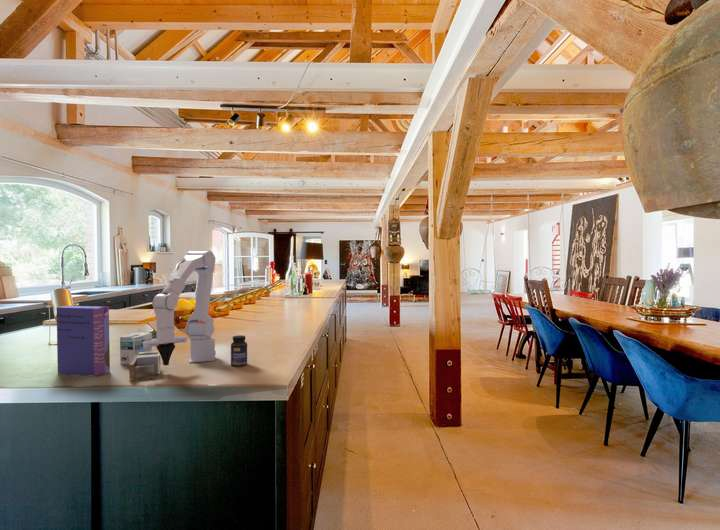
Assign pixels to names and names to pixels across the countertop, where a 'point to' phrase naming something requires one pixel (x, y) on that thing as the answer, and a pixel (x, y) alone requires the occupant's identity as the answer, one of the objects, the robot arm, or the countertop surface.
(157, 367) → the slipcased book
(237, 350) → the pill bottle
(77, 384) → the countertop surface
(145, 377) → the shelf
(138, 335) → the light bulb box
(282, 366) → the countertop surface
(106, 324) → the cereal box
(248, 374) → the countertop surface
